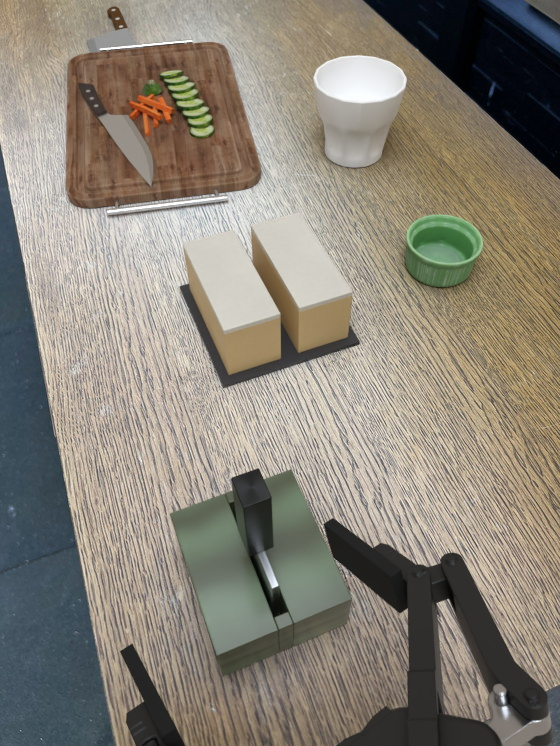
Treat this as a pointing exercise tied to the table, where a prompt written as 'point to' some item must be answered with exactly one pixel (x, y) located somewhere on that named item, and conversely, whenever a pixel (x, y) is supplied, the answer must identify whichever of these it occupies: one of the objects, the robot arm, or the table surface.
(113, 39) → the kitchen cleaver
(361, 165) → the cup
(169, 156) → the chopping board
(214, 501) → the knife block
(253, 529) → the black-handled knife
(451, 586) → the robot arm
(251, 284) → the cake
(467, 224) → the ramekin
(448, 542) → the table surface
